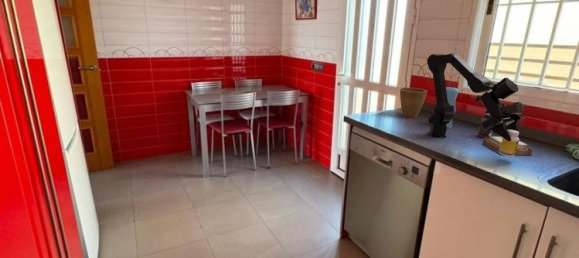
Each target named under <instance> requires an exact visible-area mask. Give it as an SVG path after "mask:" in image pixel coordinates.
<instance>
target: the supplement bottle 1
mask: <svg viewBox="0 0 579 258" xmlns="http://www.w3.org/2000/svg"><path fill="white" fill-rule="evenodd" d="M490 117H491V116H490V115H489V114H486V113H485V114H484V117H482V118H481V120H480V123H479V128H478V133H477V135H478V137H480V138H484V139H485V138H488V139H489V137H493V134H494V132H493V131H492V130H489V129H490V128H492V127H491V126H492V125H491V126H489V128H488V129H483V127H482V122H483V121H485V120H487V119H489V118H490Z"/></svg>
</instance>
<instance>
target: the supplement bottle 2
mask: <svg viewBox="0 0 579 258" xmlns="http://www.w3.org/2000/svg"><path fill="white" fill-rule="evenodd" d="M507 131H508V133H509V135H510V137H511V141H507V140H506V139H504V138H503V139H502V142H501V146H500V149H499V153H500V154H499V153H498V154H499V155H502V156H503V157H511V158H512V157H515V156H516V155H515V153H516V150H517V146H518V143H519V141H520V139H519V138H518V137H517V136H518V135H519V134H520V131H519V132H518V131H515V130H507Z"/></svg>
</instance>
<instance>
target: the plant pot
mask: <svg viewBox="0 0 579 258" xmlns="http://www.w3.org/2000/svg"><path fill="white" fill-rule="evenodd" d="M427 94H428V90H426V89H424V88H419V87H418V88H417V87H401V88H399V98H400V105H401V106H400V108H401V111H402V116H403V117H406V118H409V119H410V118H413V119H414V118H415V119H416V118H417V117H418V115H419V113H420V112H421V110H422V107H423V106H424V103H425V100H426V98H427Z"/></svg>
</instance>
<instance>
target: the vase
mask: <svg viewBox="0 0 579 258" xmlns="http://www.w3.org/2000/svg"><path fill="white" fill-rule="evenodd" d="M446 90H447V98H448V103H449V104H450V105H453V106H454V112H455V113H456V112H457V109H456V99H457V96H458V93H459V91H460V90H459V89H458V88H456V87H447V86H446ZM453 119H454V118H453ZM453 119H452V120H450V122H449V123H448V124H447V125H446V127H447V129H449V128H451V129H452V128H453Z"/></svg>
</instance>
